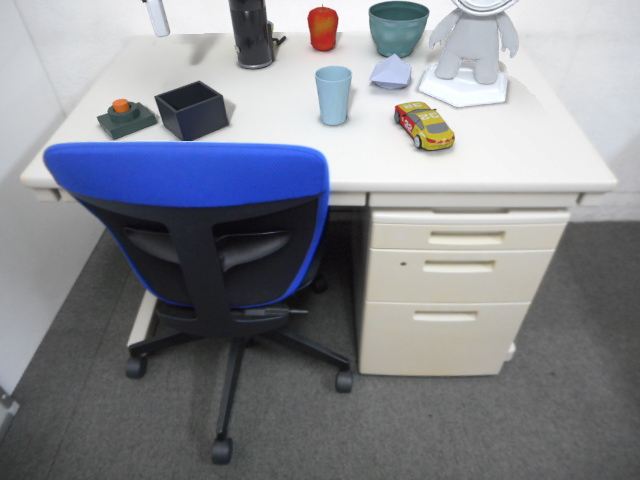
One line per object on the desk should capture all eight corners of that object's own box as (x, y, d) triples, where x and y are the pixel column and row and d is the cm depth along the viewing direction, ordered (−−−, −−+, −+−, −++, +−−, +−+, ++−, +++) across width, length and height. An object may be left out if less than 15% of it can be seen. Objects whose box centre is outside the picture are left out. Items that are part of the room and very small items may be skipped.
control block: (142, 110, 97) (136, 94, 94) (157, 123, 93) (151, 106, 90) (100, 125, 93) (92, 109, 90) (113, 139, 88) (106, 123, 85)
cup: (342, 131, 88) (342, 84, 81) (310, 123, 91) (308, 77, 83) (356, 115, 93) (357, 69, 86) (325, 108, 96) (324, 63, 88)
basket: (206, 109, 97) (199, 80, 92) (229, 125, 91) (222, 95, 86) (163, 125, 92) (153, 96, 87) (184, 143, 86) (175, 113, 81)
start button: (126, 104, 92) (124, 97, 90) (132, 109, 90) (129, 102, 89) (112, 109, 90) (109, 101, 89) (118, 114, 88) (115, 107, 87)
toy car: (420, 110, 94) (424, 89, 90) (458, 151, 82) (464, 128, 78) (388, 116, 92) (391, 94, 89) (423, 158, 81) (427, 135, 77)
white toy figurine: (413, 101, 97) (440, -88, 72) (430, 62, 112) (457, -105, 87) (503, 114, 92) (566, -85, 66) (507, 71, 106) (561, -104, 81)
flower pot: (434, 56, 114) (442, 14, 106) (383, 67, 110) (387, 24, 102) (404, 37, 125) (409, -3, 117) (356, 46, 121) (358, 5, 113)
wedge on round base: (404, 98, 98) (412, 74, 107) (408, 69, 93) (415, 48, 102) (367, 93, 100) (377, 71, 109) (369, 66, 95) (379, 45, 104)
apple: (305, 53, 118) (303, 8, 110) (312, 42, 124) (311, -2, 115) (335, 55, 117) (335, 9, 108) (340, 44, 122) (341, -1, 114)
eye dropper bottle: (147, 37, 91) (128, -26, 82) (159, 28, 94) (141, -33, 86) (166, 38, 90) (148, -26, 81) (177, 29, 94) (161, -33, 85)
